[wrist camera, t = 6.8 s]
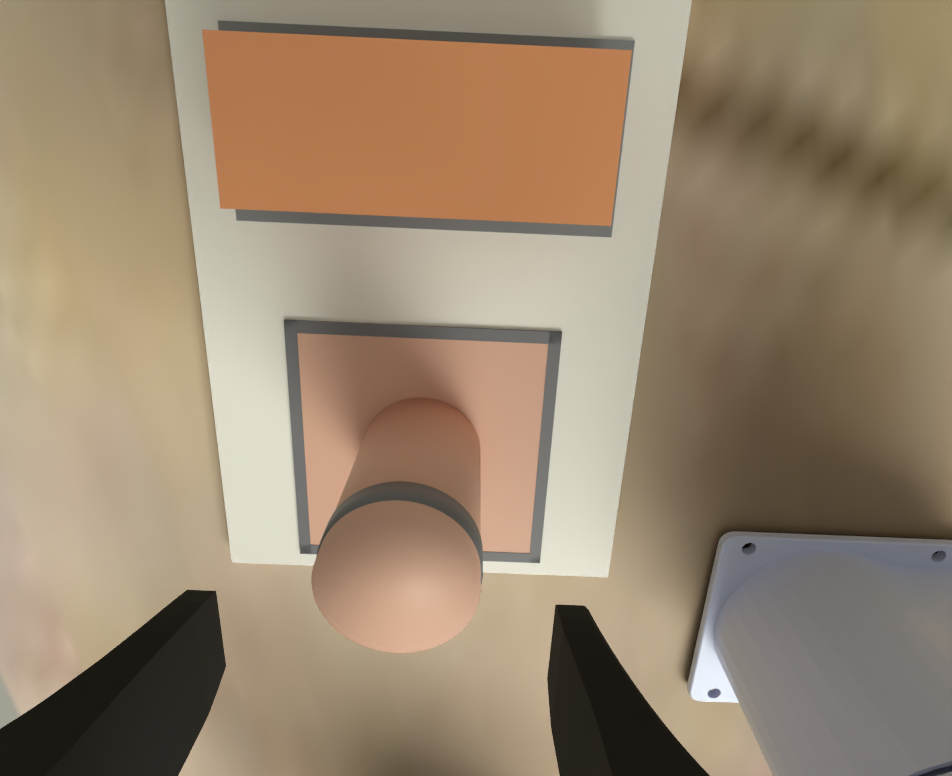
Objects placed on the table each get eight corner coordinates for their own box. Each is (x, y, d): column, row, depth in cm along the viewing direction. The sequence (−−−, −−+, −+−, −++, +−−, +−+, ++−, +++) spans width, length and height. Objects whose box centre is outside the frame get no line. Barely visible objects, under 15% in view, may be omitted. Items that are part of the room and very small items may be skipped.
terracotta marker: (485, 399, 20) (488, 517, 14) (478, 506, 22) (478, 658, 15) (360, 392, 20) (305, 508, 14) (363, 500, 22) (313, 650, 15)
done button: (618, 58, 16) (631, 50, 14) (600, 219, 17) (610, 226, 16) (226, 40, 16) (202, 29, 14) (241, 203, 17) (220, 208, 16)
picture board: (693, -55, 16) (702, -64, 16) (604, 567, 24) (608, 579, 23) (165, -82, 16) (151, -92, 16) (237, 552, 24) (230, 564, 23)
